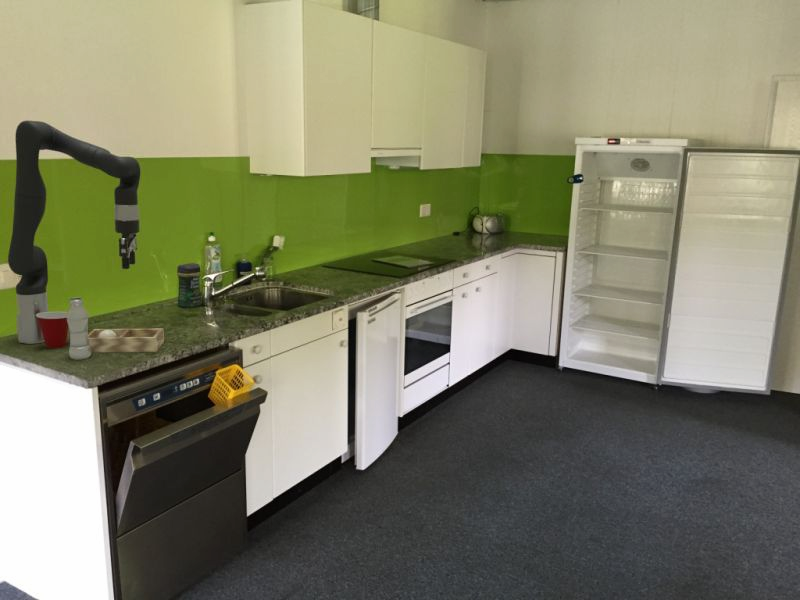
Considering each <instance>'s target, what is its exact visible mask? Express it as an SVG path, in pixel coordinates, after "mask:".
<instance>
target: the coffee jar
mask: <svg viewBox="0 0 800 600" xmlns="http://www.w3.org/2000/svg"><path fill="white" fill-rule="evenodd" d="M176 274H177V278H178V294H177V295H178V296H177V306H179V307H181V308H184V309H185V308H195V307H199V306H201V305H202V302H203V301H202V300H203V299H202V292H201V285H200V277H201V266H200V264H199V263H193V262H192V263H185V264H179V265H178V266H177V270H176Z"/></svg>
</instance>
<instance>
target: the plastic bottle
mask: <svg viewBox="0 0 800 600" xmlns="http://www.w3.org/2000/svg"><path fill="white" fill-rule="evenodd" d="M83 304H84V303H83V298H82V297H72V298H70V299H69V306H70V307H69V309H68V310H67V311H66V312H67V315H66V318H67V322H68V331H69V349H68V350H69V351H68V354H69V357H70V359H71V360H74V361H75V360H76V361H82V360H86V359H89V358H90V357H91V355H92V353H91V347H90V344H89V339H88V334H89V333H88V332H89V331H88V329H89V328H88V323H89V313H88V311H87V310H86V308H85V307H84V306H83Z"/></svg>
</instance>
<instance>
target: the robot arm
mask: <svg viewBox="0 0 800 600" xmlns="http://www.w3.org/2000/svg"><path fill="white" fill-rule="evenodd" d="M15 129H16V130H15V137H14V138H15V153H16V154H15V155H16V157H15V159H16V160H15V161H16V169H15V173H16V174H15V186H14V187H15V188H14V202H13V203H14V204H13V217H12V218H13V220H12V221H13V222H12V233H11V237H10V238H11V239H10V244H9V249H8V253H7V254H8V256H7V263H8V266H9V268H10V270H11V272H13V273H14V274H16V275H18V276H20V277H21V278H20V280H19V281H18V283H17V284H16V285H15V292H16V293H15V295H16V303H17V312H18V315H16V317H15V318H16V328H17V339H18V343H20V344H21V343H22V344H26V345H27V344H30V345H33V344H40V343H42V344H43V343H45V340H44V338H43V334H42V331H41V327H40V324H39V321H38V318H37V317H36V314H38V313H43V312H49V305H48V292H47V285H48V281H49V273H48V272H49V271H48V270H49V269H48V268H49V267H48V259H47V255H46V253H45V251H44V250H43V248H41V247H40V246H37V245H35V243H34V242H35V236H36V233H37V231H38V228H39V227H40V226H39V225H40V224H41V222H42V219H43V217H44V215H45V211H46V204H47V188H46V184H45V181H44V180H43V177H42V175H41V171H40V167H39V166H40V165H39V160H40V159H39V157H40V152H41V151H45V150H48V151H53V152H58V153H62V154H64V155H67V156H69V157H71V158H72V159H73V160H75V161H76V162H78V163H80V164H83V165H85V166H88V167H90V168H94V169H96V170H99V171H101V172H102V173H104V174H106V175H108V176H110V177H113V178H115V179H119V185H117V186H115V188H114V194H113V195H114V196H113V197H114V211H113V212H114V230H115V231H114V232H115V233H117V234H121V237H118V250H119V251H118V255H119V257H120V258H121V269H123V270H129V269H130V266H131V265H135V264H136V252H137V250H138V248H137V244H138V243H137V234H138V233H139V232H140V211H139V203H138V202H139V201H138V189H139V185H140V180H141V179H140V178H141V166H140V163H139V162H138V160H137V159H136V158H135V157H132V156H118V155H116V154H114V153H111V152H110V151H109V150H108V149H106V148H103V147H100V146H97V145H95V144H92V143H90V142H87V141H83V140H81V139H78V138H75V137H73V136H71V135H69V134H67V133H64V132H63V131H61V130H59V129H58V128H56V127H54V126H52V125H50V124H49V123H46V122H44V121H38V120H37V121H36V120H23V121H21V122H19V124H18V125H17V126H16V128H15Z"/></svg>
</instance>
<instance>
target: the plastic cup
mask: <svg viewBox="0 0 800 600" xmlns="http://www.w3.org/2000/svg"><path fill="white" fill-rule="evenodd" d="M67 312H68V311H48V312H43V313H38V314H36V317H37V318H38V321H39V324H40V327H41V331H42V334H43V338H44V340H45V342H44V344H45V347H46V348H49V349H58V348H62V347H65V346H66V345H67V341H68V340H67V339H68V334H69V333H68V331H69V326H68V322H67V318H66V315H67Z"/></svg>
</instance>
